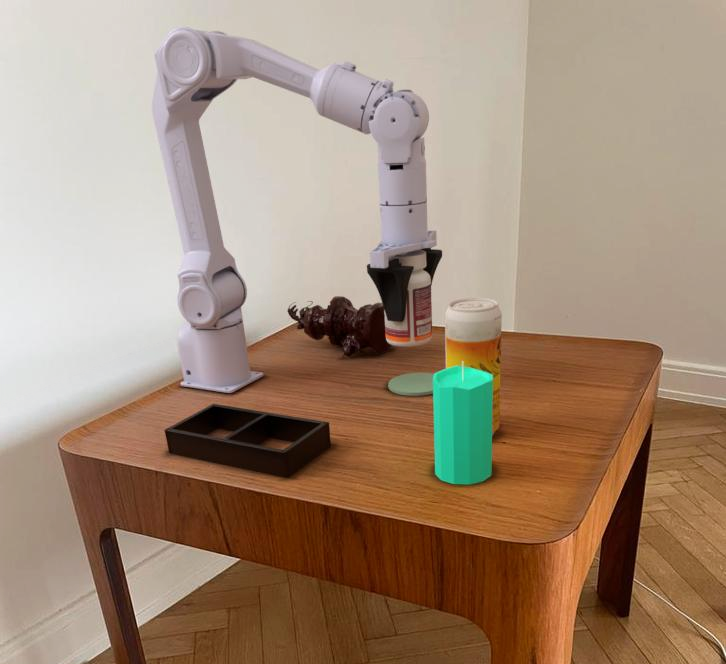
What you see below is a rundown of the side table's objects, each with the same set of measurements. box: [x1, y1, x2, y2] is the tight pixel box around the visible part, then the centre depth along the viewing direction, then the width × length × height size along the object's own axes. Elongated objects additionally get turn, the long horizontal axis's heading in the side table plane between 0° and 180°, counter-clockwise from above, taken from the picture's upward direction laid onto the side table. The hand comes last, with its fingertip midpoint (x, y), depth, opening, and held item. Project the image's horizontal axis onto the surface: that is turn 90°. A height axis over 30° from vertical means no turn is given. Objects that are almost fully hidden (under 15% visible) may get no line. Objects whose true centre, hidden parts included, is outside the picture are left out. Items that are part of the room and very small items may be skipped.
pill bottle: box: [384, 250, 433, 348], centre depth 96 cm, size 6×6×11 cm
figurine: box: [287, 295, 393, 359], centre depth 118 cm, size 10×10×18 cm
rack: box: [164, 403, 332, 479], centre depth 86 cm, size 17×9×3 cm, turn 61°
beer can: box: [444, 297, 503, 436], centre depth 84 cm, size 6×6×15 cm
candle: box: [432, 361, 493, 485], centre depth 75 cm, size 6×6×12 cm
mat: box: [387, 372, 434, 397], centre depth 102 cm, size 8×8×1 cm
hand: (407, 314), depth 97 cm, fingers closed on pill bottle, 6 cm apart
